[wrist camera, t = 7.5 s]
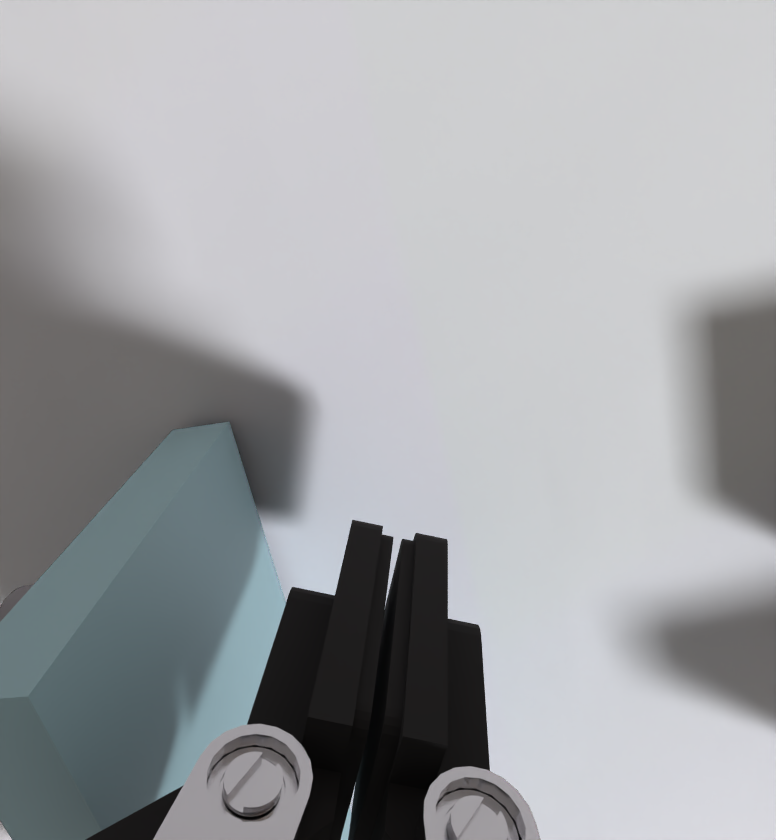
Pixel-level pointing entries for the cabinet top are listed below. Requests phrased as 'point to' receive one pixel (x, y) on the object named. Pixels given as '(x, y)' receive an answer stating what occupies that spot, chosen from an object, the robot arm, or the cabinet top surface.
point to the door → (136, 644)
